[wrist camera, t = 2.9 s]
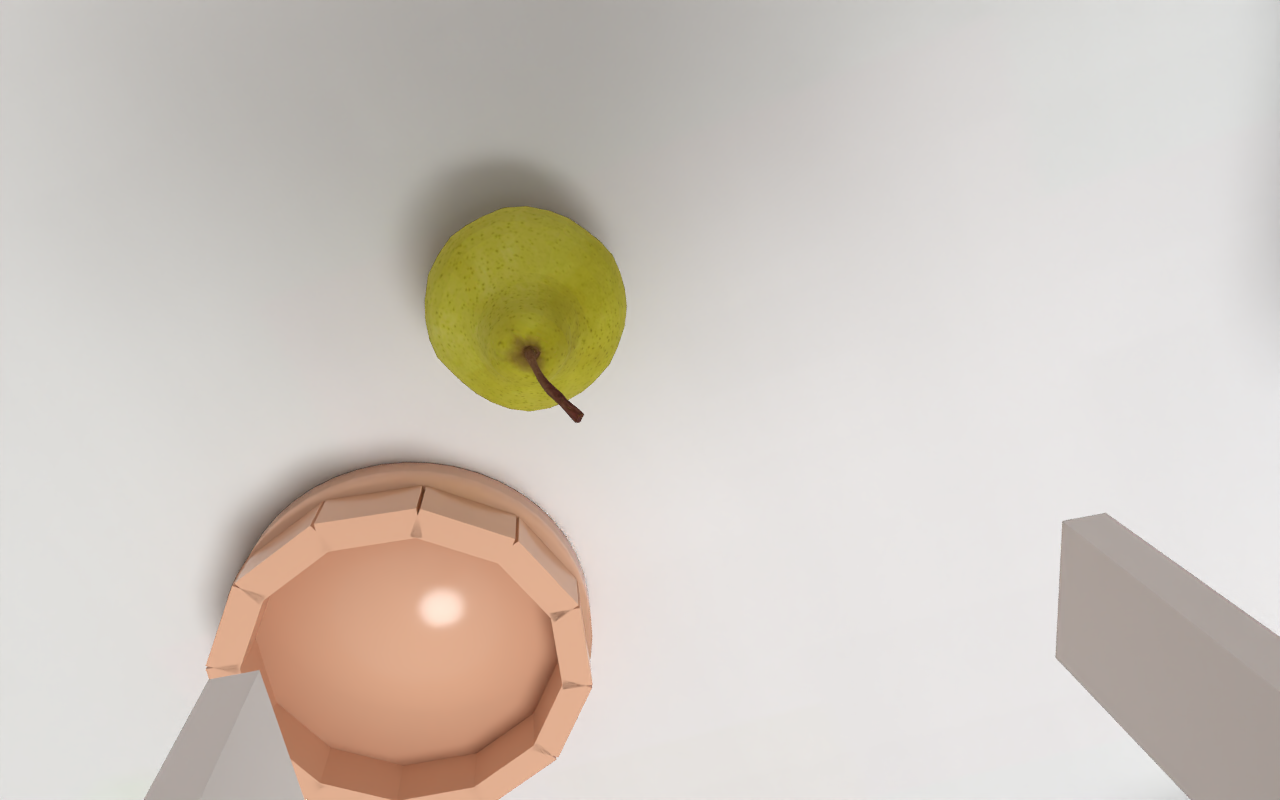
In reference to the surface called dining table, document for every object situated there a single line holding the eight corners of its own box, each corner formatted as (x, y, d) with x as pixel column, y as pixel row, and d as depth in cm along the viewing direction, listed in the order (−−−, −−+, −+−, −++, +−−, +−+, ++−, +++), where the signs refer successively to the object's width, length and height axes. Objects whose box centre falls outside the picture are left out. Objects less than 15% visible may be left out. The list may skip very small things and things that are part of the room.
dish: (193, 492, 34) (151, 541, 30) (564, 437, 35) (567, 477, 32) (288, 781, 39) (262, 853, 36) (608, 726, 40) (616, 789, 37)
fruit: (399, 287, 32) (327, 388, 21) (521, 155, 31) (515, 188, 20) (532, 403, 35) (531, 550, 23) (651, 284, 34) (710, 377, 22)
